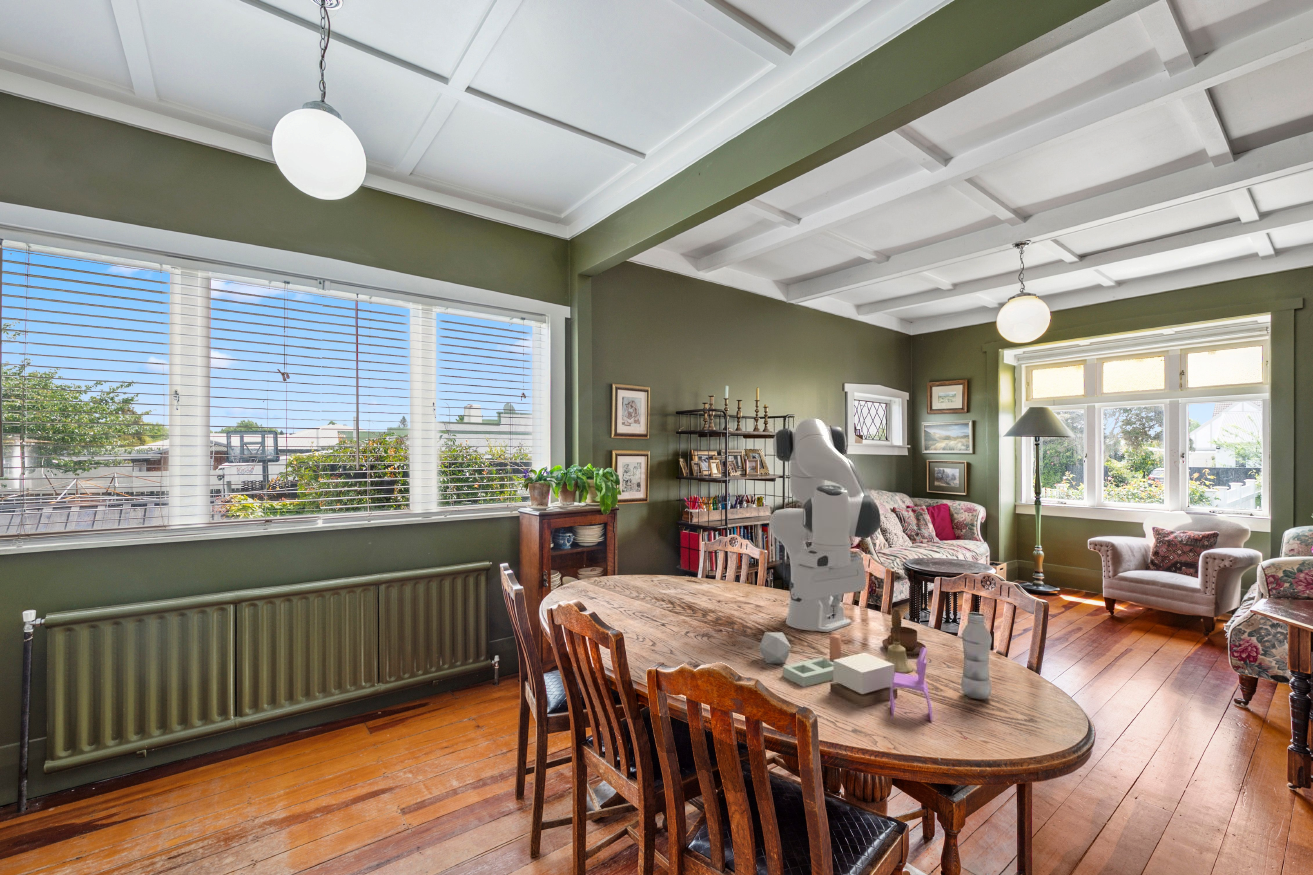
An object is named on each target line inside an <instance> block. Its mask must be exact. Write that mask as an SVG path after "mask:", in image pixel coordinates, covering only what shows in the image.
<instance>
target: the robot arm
mask: <svg viewBox="0 0 1313 875" xmlns="http://www.w3.org/2000/svg"><path fill="white" fill-rule="evenodd" d="M847 443H848V442H847V437H846V434H845V432H844V430H843V429H842V428H841V426H840V427H839V426H837V425H826V423H825V422H824V421H823V420H820V419H818V418H813V417H812V418H805V419H804V420H802V421H800V422H799V424H798V425H797V426H796V427H791V428H788V427H786V428H781V429H779V430H777V432H775V434H774V438H773V440H772V448H773V452H774V454H775V456H776V458H777V459H778V461H781V462H786V463H789V462H790V464H789V478H790V479H789V481H790V486H789V487H790V489H789V490H790V493H791V496H793V498H794V499H795V500H797V501H798V502H800V503H802V504H803V505H802V508H792V507H791V508H790V507H788V508H781V509H776V510H775V511H774V512H773V513H771V515H770V518H769V523H768V525H769V530H770V533H771V534H772V536H774V538H776V539H777V540H778V541H779V542H780V543H781V544H782V545H783V546H784V548H785V550H786V552H787V554H788V557H789V563H790V565H789V566H790V581H789V596H790V597H789V602H788V612H787V616H786V620H785V624H786V625H787V626H789V627H792V628H794V629H798V630H804V631H811V632H812V631H813V632H814V631H815V632H822V633H830V632H832V631H834V630H838V629H840V628H844V627H846V626H849V625H851V624H852V620H850V618H848V617H845V613H844V612H845V611H844V608H843V607H844V606H843V605H842V603H841V602H842V600H843V595H845V594H851V593H856V592H864V590H865V589H866V587H867V577H866V569H865V564H864V557H863V556H862V555H861V553H859V551H854V552H853V551H852V543H851V542H852V541H851V538H850V537H854V538H861V539H869V538H871V536H873V535H874V534H875V533H876V532H877V531H878V530H879V529H880V527H881V513H880V509H879V507H878V504H877V502H875V500H874V499H873V498H872V496H871V495H870V493H869V491H868V489H867V487H866V486H865V483H864V482H863V480H862V477H861V476H860V474H859V472H858V470H857V469H856V466H855V465H854V463H853V462H852V460H851V459H850V458H848V457H847V456H844V455H845V452H846V449H847ZM827 481H828V482H831V483H834V484H835V485H834V484H826V482H827ZM836 484H837V485H836ZM808 542H809V543H811V545H809V546H808V547H807V544H806V543H808ZM851 551H852V552H851Z"/></svg>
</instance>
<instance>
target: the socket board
mask: <svg viewBox="0 0 1313 875" xmlns="http://www.w3.org/2000/svg"><path fill="white" fill-rule="evenodd" d="M782 677H784V678H786V679H788V680H790V681H792V682H793V683H796V684H797V685H800V686H801V687H803V688H806V687H809V686H814V685H818V684H820V683H826V682H829V681H832V680H833V662H831V661H830V659H826V658H824V657H823V656H822V657H818V658H813V659H809V660H804V661H800V662H795V663H791V664H787V665H782ZM833 681H834V680H833Z"/></svg>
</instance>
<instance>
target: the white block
mask: <svg viewBox="0 0 1313 875" xmlns="http://www.w3.org/2000/svg"><path fill="white" fill-rule="evenodd" d="M894 676H895V672H894V664H892V663H890V662H887V661H885V659H882V658H879V657H878V656H875V655H871V654H869V653H867V652H862V653H858V654H853V655H849V656H846V657H841V658H840V659H836V660H833V682H838V683H840V684H842V685H844V686H846V687H848V688H850V689H852V690H855V691H857V692H859V693H861V694H865V693H868V692H872V691H875V690H879V689H882V688H886V687H889V686H891V685H892V680H893V678H894Z"/></svg>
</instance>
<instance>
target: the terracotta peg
mask: <svg viewBox="0 0 1313 875" xmlns="http://www.w3.org/2000/svg"><path fill="white" fill-rule="evenodd" d="M840 658H842V636H841V635H839V634H830V635H829V661H831V662H833V660H836V659H840Z"/></svg>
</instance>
